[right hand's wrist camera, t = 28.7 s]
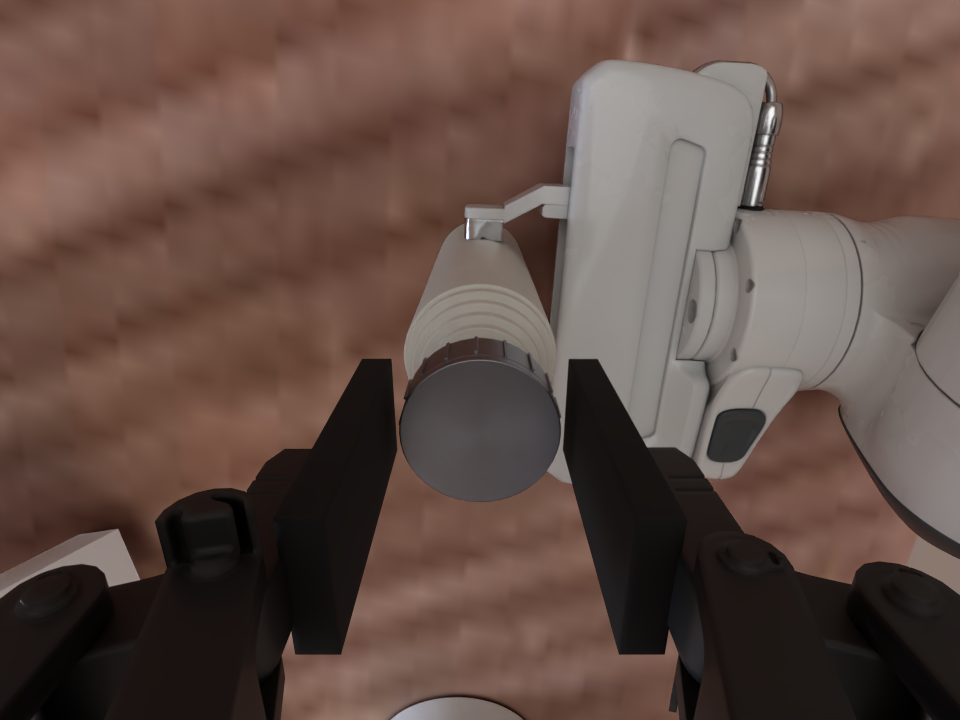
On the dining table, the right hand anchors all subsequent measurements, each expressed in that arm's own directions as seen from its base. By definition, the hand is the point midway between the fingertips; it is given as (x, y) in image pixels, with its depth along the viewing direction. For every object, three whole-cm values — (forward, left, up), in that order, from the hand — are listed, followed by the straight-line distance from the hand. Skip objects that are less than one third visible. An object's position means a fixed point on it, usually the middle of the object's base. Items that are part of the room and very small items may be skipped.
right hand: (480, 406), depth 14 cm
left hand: (-1, 0, -13) cm, 13 cm away
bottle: (0, 0, -20) cm, 20 cm away
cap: (0, 0, +1) cm, 1 cm away
